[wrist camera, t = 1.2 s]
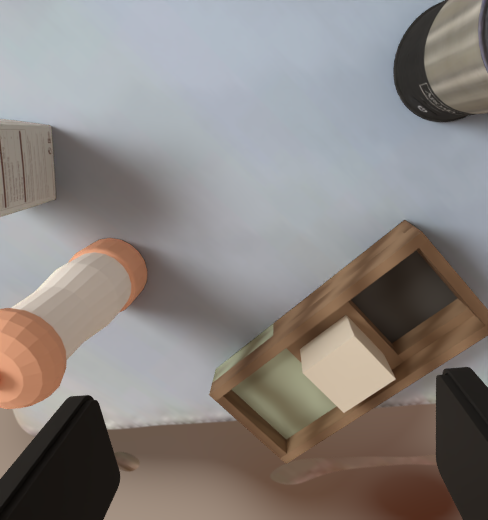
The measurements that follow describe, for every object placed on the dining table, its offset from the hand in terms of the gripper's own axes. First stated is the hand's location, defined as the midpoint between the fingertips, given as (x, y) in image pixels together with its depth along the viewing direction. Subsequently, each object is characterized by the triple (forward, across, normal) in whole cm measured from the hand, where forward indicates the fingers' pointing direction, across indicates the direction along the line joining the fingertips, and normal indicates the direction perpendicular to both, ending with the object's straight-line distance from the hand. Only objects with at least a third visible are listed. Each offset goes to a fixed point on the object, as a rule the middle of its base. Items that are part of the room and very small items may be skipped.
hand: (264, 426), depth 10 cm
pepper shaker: (+28, +18, +3) cm, 33 cm away
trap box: (+28, -5, +14) cm, 32 cm away
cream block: (+26, -5, +14) cm, 30 cm away
